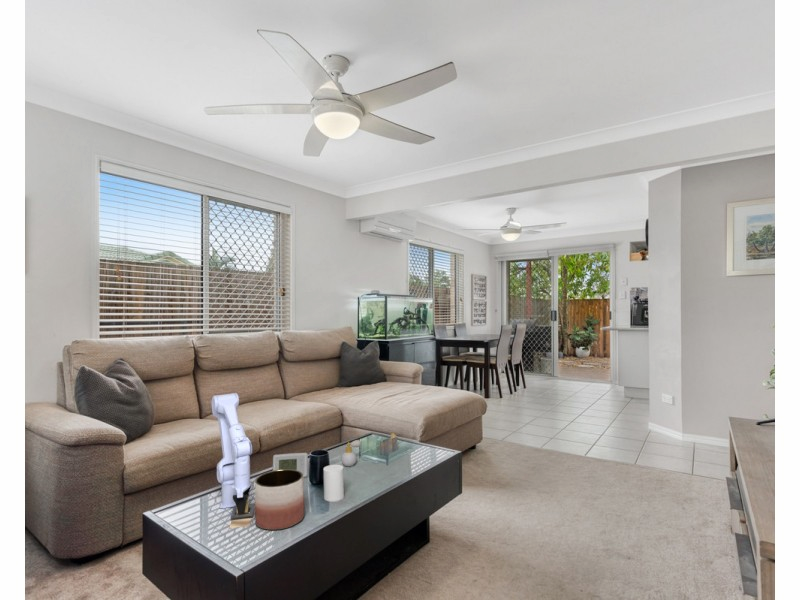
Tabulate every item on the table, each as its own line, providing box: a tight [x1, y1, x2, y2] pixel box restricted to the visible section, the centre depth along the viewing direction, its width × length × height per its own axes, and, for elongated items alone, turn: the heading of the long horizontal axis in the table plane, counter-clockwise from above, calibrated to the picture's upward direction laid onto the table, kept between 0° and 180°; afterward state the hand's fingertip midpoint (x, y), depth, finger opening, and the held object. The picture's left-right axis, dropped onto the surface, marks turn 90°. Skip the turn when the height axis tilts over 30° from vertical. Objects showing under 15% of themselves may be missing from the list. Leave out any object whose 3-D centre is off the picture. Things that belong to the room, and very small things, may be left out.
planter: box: [254, 469, 306, 531], centre depth 164 cm, size 18×18×16 cm
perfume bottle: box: [341, 439, 362, 468], centre depth 220 cm, size 8×10×12 cm
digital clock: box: [272, 452, 309, 479], centre depth 206 cm, size 16×9×11 cm, turn 86°
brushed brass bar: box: [236, 495, 250, 515], centre depth 168 cm, size 4×4×7 cm
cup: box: [323, 464, 345, 502], centre depth 182 cm, size 8×8×12 cm
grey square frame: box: [230, 502, 255, 522], centre depth 169 cm, size 9×8×2 cm
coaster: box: [229, 518, 252, 529], centre depth 161 cm, size 5×7×1 cm
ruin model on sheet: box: [379, 432, 399, 457], centre depth 238 cm, size 11×3×10 cm, turn 141°
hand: (242, 509), depth 168 cm, fingers open, 7 cm apart
